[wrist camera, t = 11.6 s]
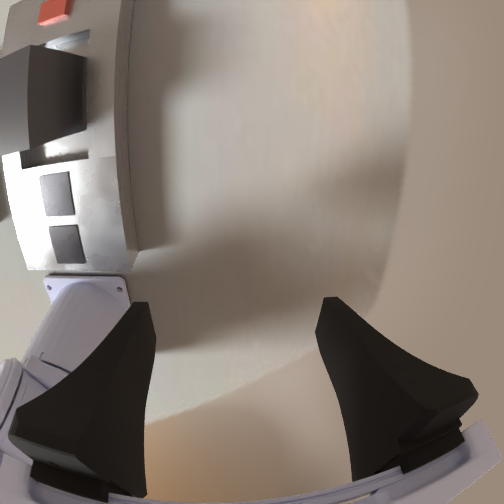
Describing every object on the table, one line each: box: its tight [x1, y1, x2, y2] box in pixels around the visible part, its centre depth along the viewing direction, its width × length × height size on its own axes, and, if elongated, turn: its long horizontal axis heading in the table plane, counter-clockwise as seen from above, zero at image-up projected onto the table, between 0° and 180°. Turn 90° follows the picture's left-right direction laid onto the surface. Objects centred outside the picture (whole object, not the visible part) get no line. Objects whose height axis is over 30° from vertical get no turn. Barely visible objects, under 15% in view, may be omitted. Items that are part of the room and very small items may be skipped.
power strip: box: [2, 0, 139, 271], centre depth 13 cm, size 20×9×3 cm, turn 177°
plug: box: [0, 45, 84, 157], centre depth 10 cm, size 5×4×6 cm
